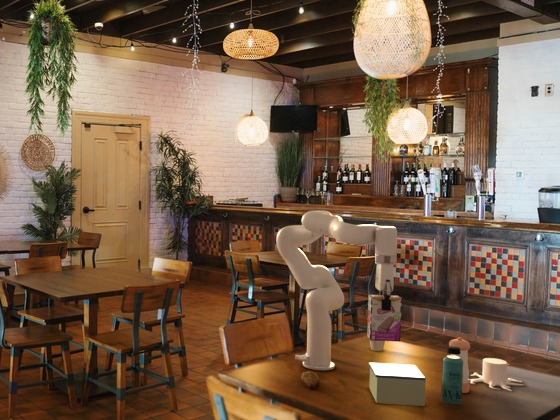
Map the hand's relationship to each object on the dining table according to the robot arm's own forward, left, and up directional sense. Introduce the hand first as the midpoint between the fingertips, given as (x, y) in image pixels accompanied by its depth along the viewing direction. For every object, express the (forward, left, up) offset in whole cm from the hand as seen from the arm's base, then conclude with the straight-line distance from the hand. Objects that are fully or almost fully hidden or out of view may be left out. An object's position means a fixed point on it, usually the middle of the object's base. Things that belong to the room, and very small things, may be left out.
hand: (384, 308), depth 239 cm
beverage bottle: (+19, -19, -29) cm, 39 cm away
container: (+2, -14, -29) cm, 32 cm away
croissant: (-27, -5, -29) cm, 40 cm away
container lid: (+2, -14, -20) cm, 24 cm away
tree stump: (+42, +12, -29) cm, 52 cm away
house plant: (+6, +50, -29) cm, 58 cm away
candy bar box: (0, 0, -12) cm, 12 cm away
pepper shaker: (+26, -1, -29) cm, 39 cm away
